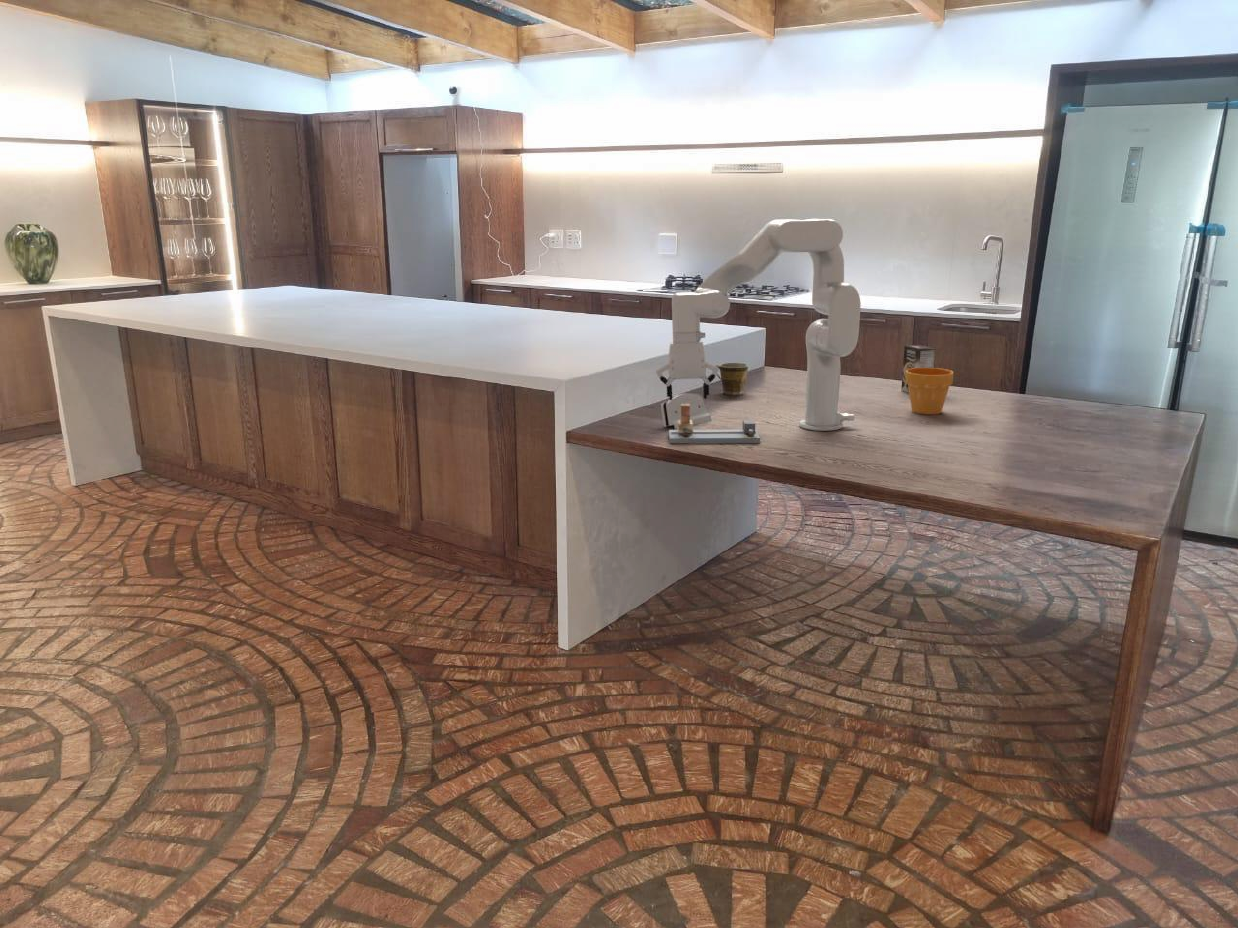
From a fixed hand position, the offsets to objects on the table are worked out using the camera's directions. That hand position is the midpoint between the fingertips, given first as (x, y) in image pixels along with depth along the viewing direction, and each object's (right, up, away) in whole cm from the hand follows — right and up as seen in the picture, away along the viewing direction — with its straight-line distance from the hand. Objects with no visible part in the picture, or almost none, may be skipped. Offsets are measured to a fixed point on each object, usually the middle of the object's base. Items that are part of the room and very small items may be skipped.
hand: (687, 398), depth 250 cm
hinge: (+1, -6, +22) cm, 22 cm away
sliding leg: (-1, -10, +1) cm, 10 cm away
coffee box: (+85, +6, +62) cm, 105 cm away
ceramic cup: (+20, +7, +65) cm, 68 cm away
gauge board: (+7, -11, +2) cm, 14 cm away
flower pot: (+78, -2, +32) cm, 84 cm away
